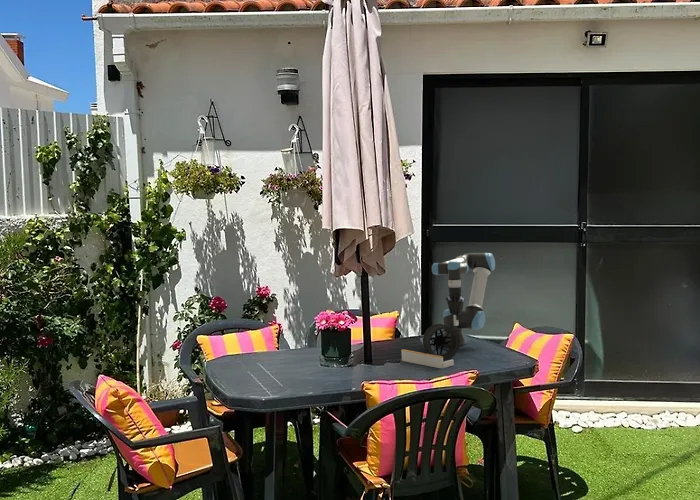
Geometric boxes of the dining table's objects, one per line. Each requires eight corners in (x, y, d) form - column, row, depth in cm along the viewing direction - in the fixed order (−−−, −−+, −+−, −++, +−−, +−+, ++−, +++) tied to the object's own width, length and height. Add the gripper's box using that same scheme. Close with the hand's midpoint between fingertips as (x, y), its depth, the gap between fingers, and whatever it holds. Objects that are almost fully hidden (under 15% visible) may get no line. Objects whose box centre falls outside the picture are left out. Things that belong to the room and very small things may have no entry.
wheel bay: (413, 357, 389) (413, 346, 389) (453, 365, 366) (453, 353, 366) (401, 360, 383) (401, 349, 382) (442, 368, 359) (441, 356, 359)
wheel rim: (454, 355, 390) (453, 322, 389) (460, 358, 381) (459, 324, 380) (423, 358, 385) (421, 325, 384) (428, 362, 376) (427, 328, 375)
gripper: (442, 286, 392) (443, 325, 394) (459, 288, 383) (460, 327, 384) (450, 285, 397) (451, 323, 399) (467, 286, 387) (468, 325, 389)
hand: (456, 325), depth 391 cm, fingers closed
